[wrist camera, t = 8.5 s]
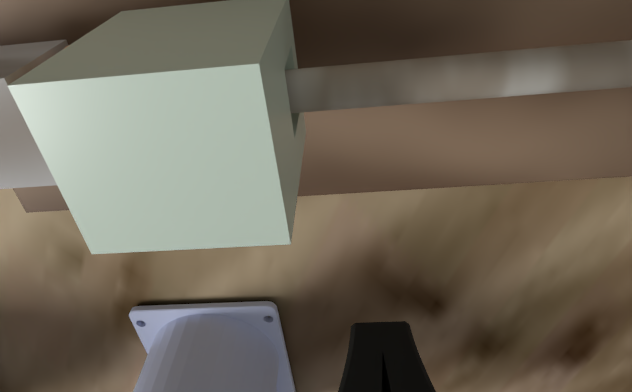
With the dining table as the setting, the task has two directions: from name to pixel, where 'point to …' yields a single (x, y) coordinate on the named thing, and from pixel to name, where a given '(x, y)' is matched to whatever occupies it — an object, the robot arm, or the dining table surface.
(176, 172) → the pale green block
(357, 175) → the board
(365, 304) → the dining table surface
